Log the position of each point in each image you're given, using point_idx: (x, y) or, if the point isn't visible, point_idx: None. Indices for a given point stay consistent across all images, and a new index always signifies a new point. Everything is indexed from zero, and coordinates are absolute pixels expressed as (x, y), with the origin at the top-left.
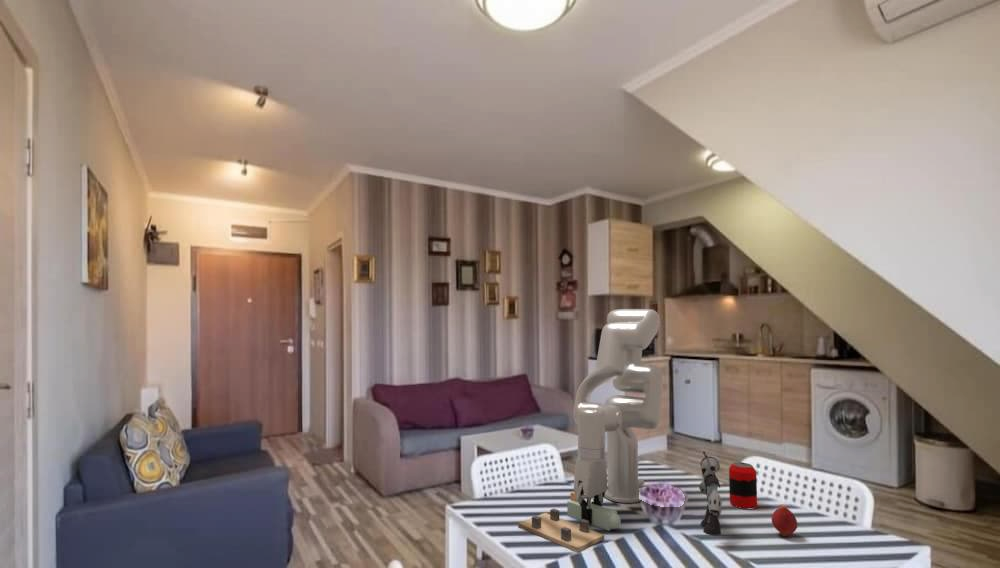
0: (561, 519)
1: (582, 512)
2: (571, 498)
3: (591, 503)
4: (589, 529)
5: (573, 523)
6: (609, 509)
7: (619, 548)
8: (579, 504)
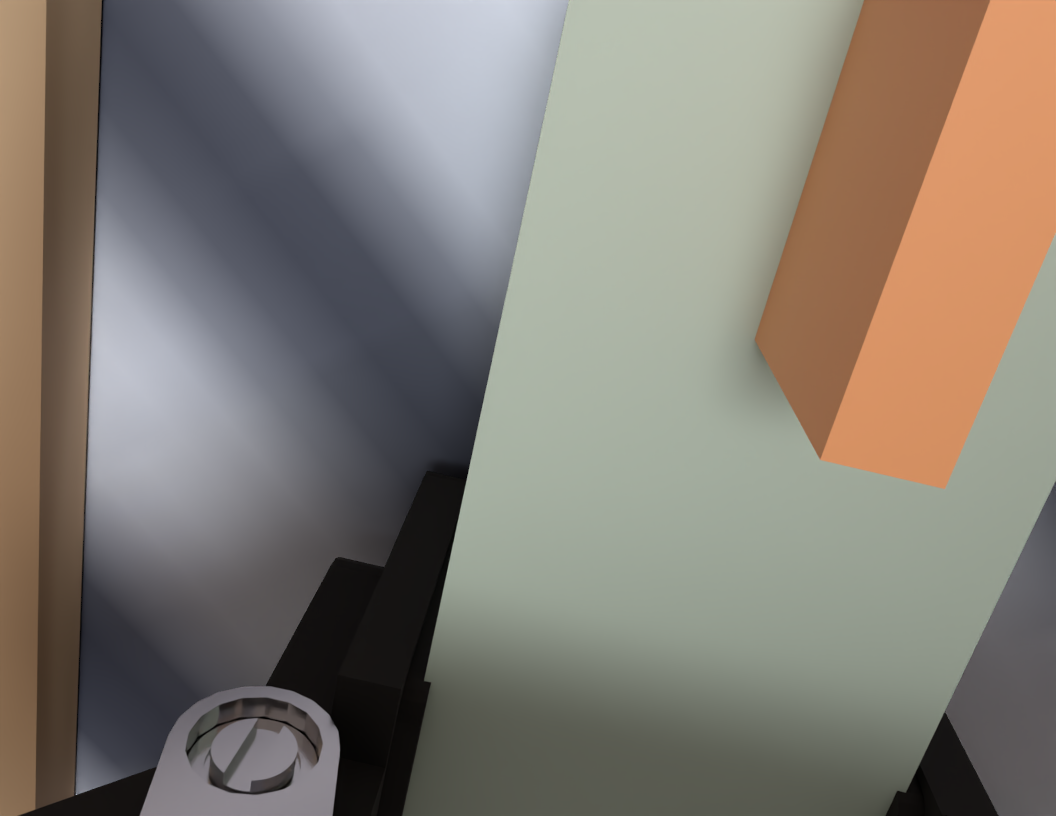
0: (7, 89)
1: (289, 648)
2: (882, 10)
3: (872, 795)
4: (25, 799)
5: (27, 454)
6: None
7: None
8: (550, 510)
